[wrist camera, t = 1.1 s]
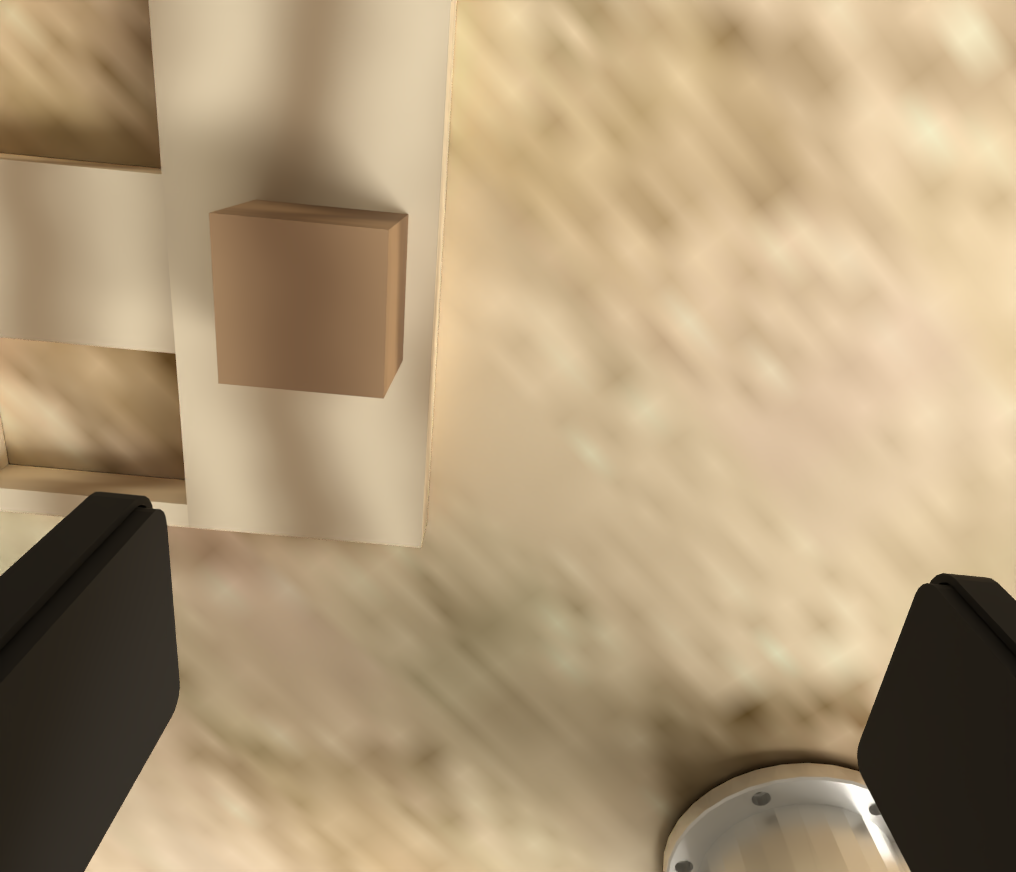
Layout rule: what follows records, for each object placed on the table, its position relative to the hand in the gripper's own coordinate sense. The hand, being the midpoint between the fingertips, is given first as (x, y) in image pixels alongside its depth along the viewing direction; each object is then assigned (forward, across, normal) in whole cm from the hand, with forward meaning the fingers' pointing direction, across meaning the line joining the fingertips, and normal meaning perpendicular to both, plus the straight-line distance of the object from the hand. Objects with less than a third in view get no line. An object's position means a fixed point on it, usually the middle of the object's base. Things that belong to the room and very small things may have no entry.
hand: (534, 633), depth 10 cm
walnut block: (+18, +6, 0) cm, 19 cm away
